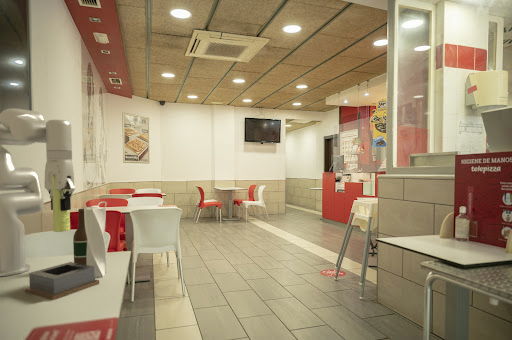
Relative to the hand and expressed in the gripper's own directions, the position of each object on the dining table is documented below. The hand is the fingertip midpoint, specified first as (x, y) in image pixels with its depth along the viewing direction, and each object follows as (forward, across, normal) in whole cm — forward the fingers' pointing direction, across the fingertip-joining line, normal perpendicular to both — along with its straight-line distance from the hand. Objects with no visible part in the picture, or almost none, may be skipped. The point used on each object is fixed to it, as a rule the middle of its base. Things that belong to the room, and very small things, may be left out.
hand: (60, 209), depth 113 cm
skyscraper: (+27, -1, +14) cm, 30 cm away
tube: (+8, 0, 0) cm, 8 cm away
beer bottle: (+27, -18, +20) cm, 38 cm away
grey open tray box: (+27, 0, 0) cm, 27 cm away
